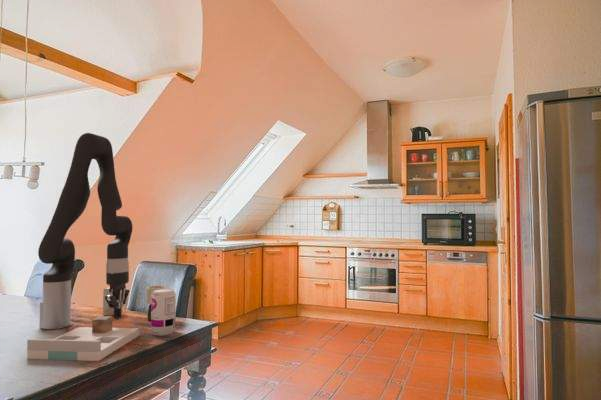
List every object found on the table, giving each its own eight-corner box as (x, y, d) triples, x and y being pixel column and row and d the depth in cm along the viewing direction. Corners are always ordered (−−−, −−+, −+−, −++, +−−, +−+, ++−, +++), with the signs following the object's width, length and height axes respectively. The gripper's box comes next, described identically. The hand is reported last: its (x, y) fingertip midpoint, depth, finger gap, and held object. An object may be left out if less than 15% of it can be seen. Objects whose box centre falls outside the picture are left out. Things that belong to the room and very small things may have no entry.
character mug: (169, 320, 160) (170, 287, 160) (152, 323, 155) (152, 289, 155) (158, 315, 168) (158, 284, 168) (141, 318, 163) (141, 286, 163)
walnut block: (92, 332, 134) (92, 319, 134) (99, 329, 139) (100, 316, 139) (104, 333, 134) (105, 319, 134) (112, 329, 138) (112, 316, 138)
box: (111, 315, 167) (111, 288, 168) (102, 315, 168) (102, 288, 169) (119, 312, 173) (119, 286, 173) (110, 312, 173) (111, 286, 174)
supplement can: (151, 337, 137) (152, 293, 138) (150, 331, 145) (150, 289, 145) (176, 334, 141) (176, 291, 141) (173, 328, 148) (174, 287, 149)
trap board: (27, 358, 117) (27, 339, 117) (79, 334, 141) (79, 318, 141) (98, 360, 115) (98, 341, 116) (138, 335, 139) (139, 319, 139)
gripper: (117, 268, 153) (117, 313, 152) (97, 273, 140) (97, 323, 139) (136, 268, 152) (136, 313, 152) (117, 273, 139) (117, 323, 138)
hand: (117, 318), depth 145 cm, fingers closed
